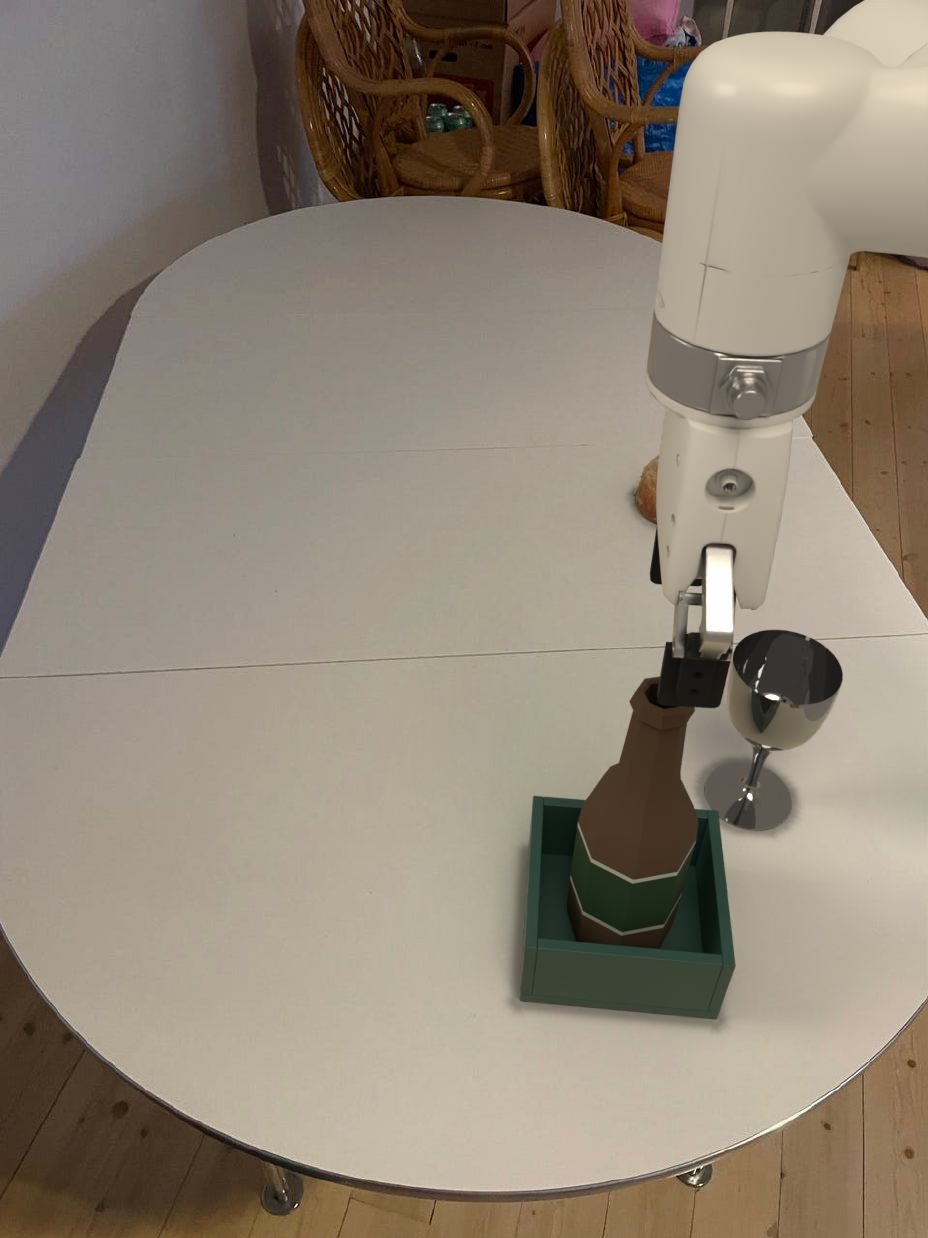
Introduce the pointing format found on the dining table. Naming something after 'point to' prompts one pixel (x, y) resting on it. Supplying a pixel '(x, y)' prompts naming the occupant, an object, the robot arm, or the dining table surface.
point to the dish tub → (623, 975)
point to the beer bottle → (635, 833)
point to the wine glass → (771, 720)
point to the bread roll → (648, 490)
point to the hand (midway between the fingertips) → (681, 638)
